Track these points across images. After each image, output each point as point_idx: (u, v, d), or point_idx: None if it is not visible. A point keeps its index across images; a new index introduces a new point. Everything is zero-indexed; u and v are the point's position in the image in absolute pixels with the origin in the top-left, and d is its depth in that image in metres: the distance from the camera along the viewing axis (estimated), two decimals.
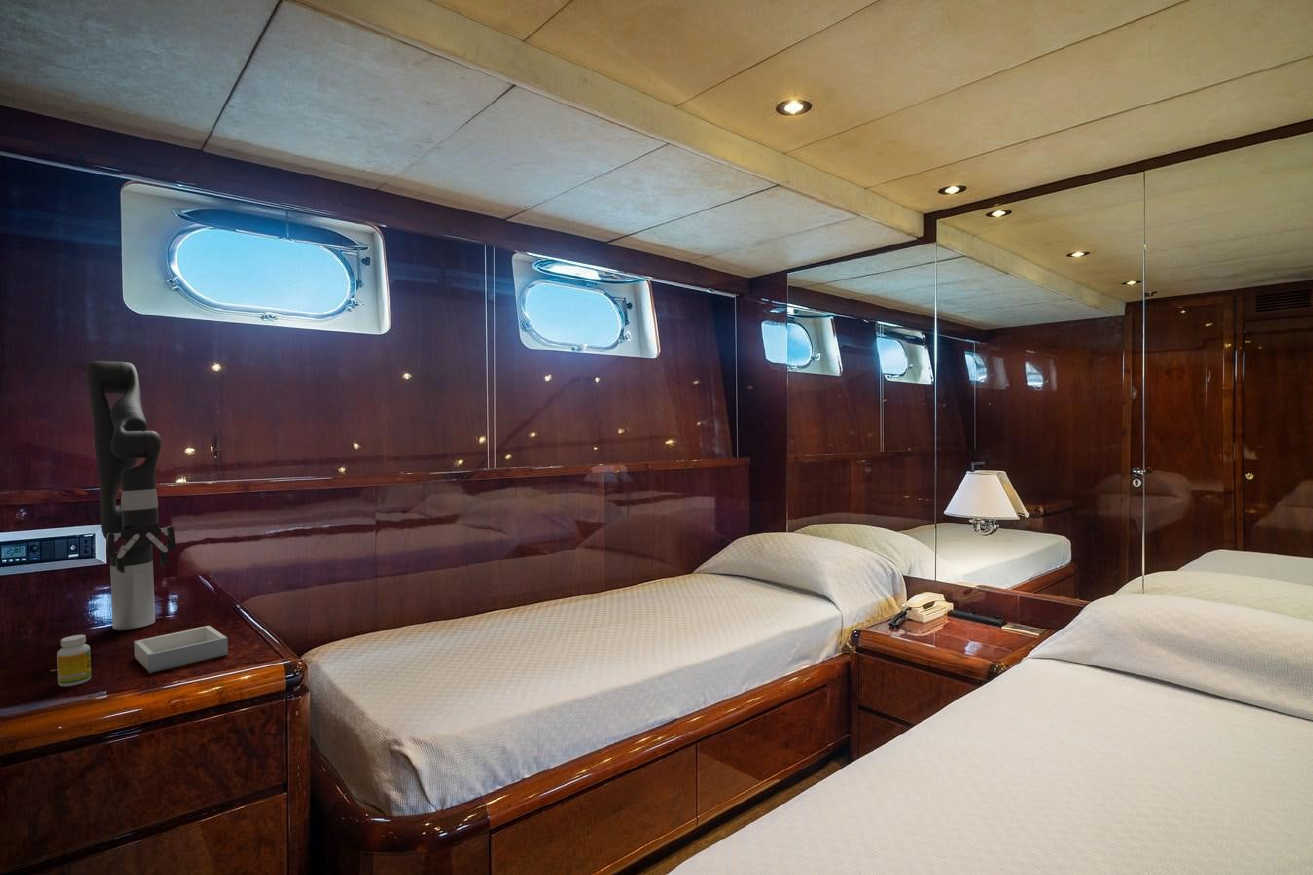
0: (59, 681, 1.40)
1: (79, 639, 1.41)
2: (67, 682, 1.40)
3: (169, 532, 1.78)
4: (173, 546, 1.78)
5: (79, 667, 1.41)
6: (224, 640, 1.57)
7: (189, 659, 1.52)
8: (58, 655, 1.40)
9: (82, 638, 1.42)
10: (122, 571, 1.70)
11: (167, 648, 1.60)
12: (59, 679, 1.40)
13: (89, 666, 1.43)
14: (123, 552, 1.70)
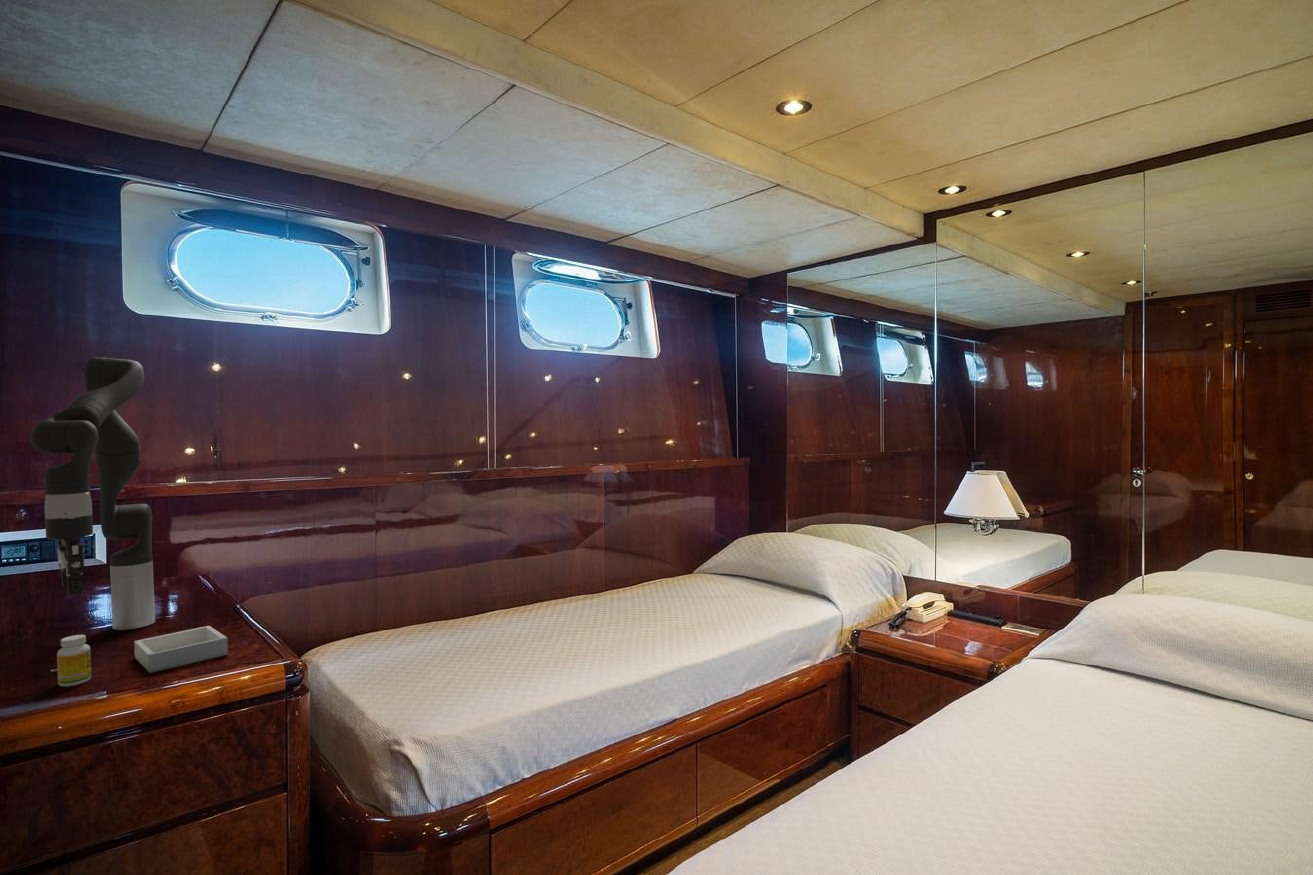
0: (59, 681, 1.40)
1: (79, 639, 1.41)
2: (67, 682, 1.40)
3: None
4: None
5: (79, 667, 1.41)
6: (224, 640, 1.57)
7: (189, 659, 1.52)
8: (58, 655, 1.40)
9: (82, 638, 1.42)
10: None
11: (167, 648, 1.60)
12: (59, 679, 1.40)
13: (89, 666, 1.43)
14: None
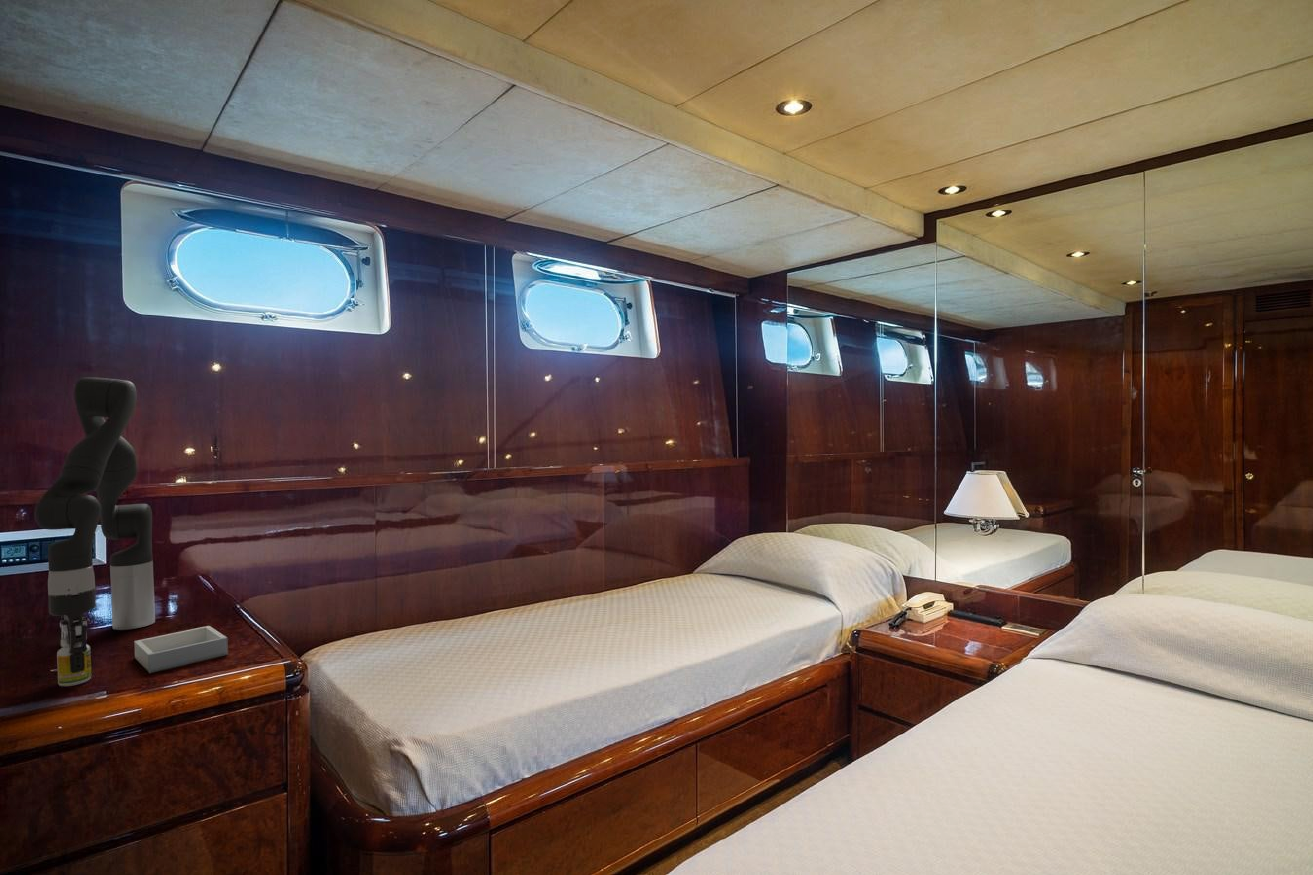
0: (59, 681, 1.40)
1: None
2: (67, 682, 1.40)
3: None
4: None
5: None
6: (224, 640, 1.57)
7: (189, 659, 1.52)
8: (58, 655, 1.40)
9: None
10: None
11: (167, 648, 1.60)
12: (59, 679, 1.40)
13: (89, 666, 1.43)
14: None
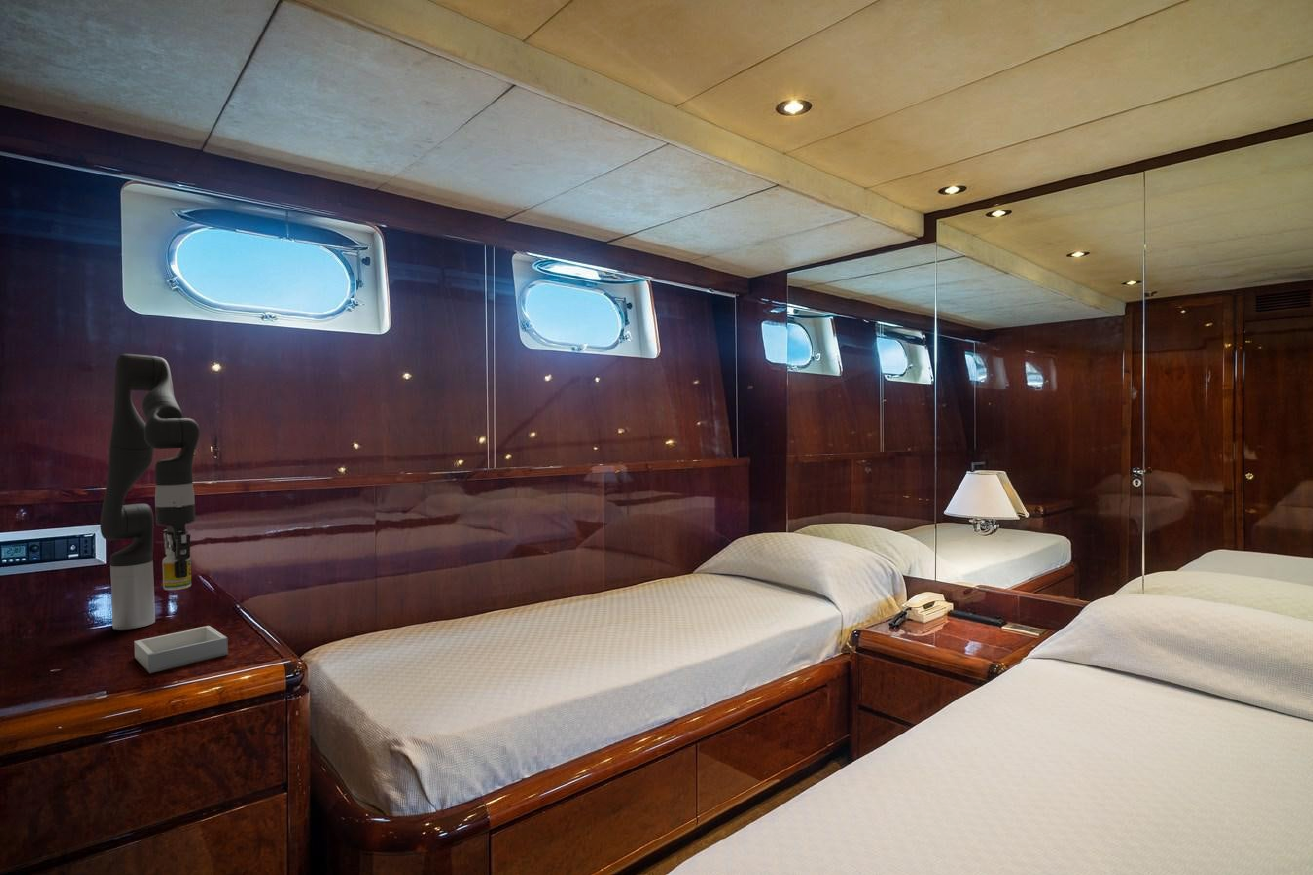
0: (165, 586, 1.54)
1: None
2: (172, 586, 1.54)
3: None
4: None
5: None
6: (224, 640, 1.57)
7: (189, 659, 1.52)
8: (164, 562, 1.54)
9: None
10: None
11: (167, 648, 1.60)
12: (165, 584, 1.54)
13: (190, 574, 1.57)
14: None
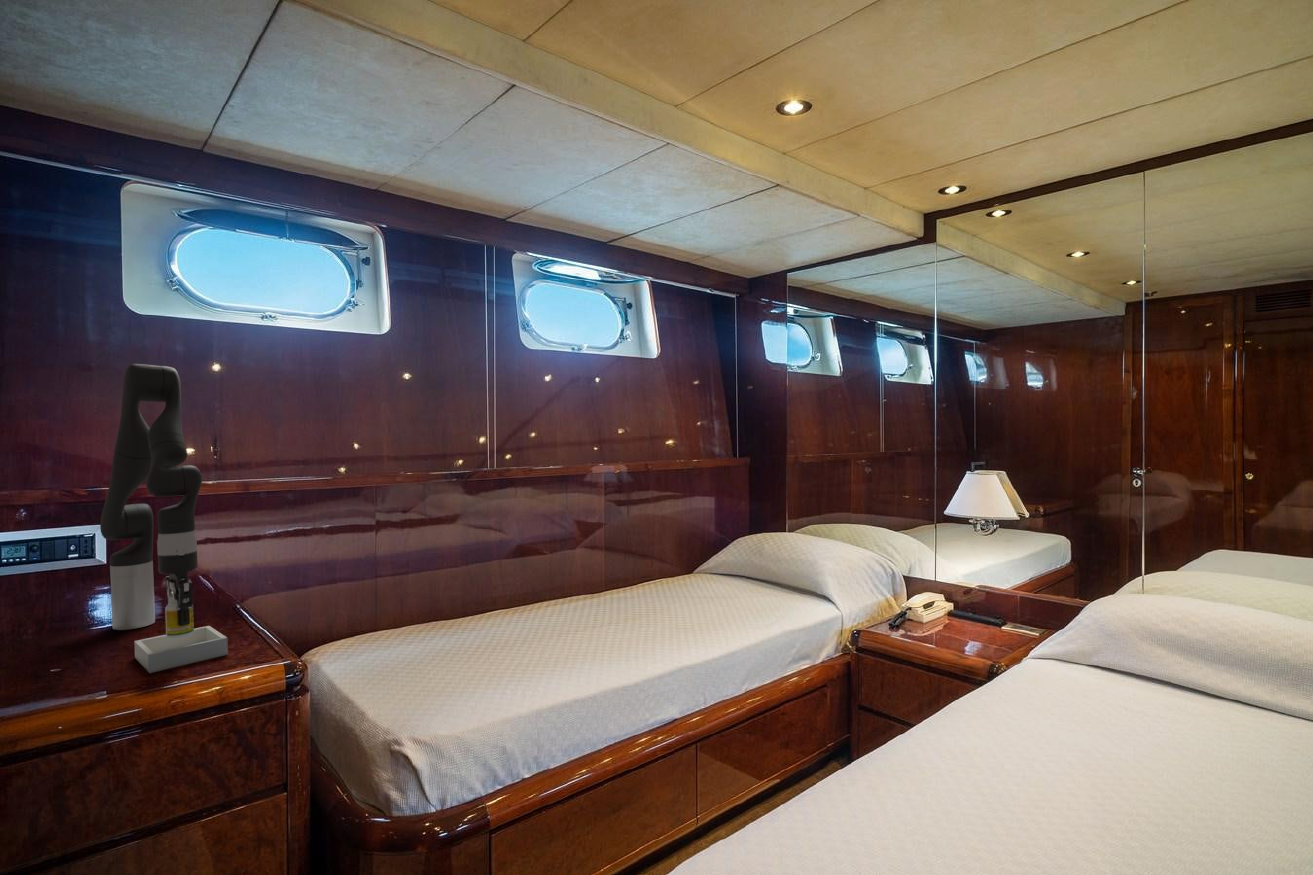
0: (167, 633, 1.55)
1: None
2: (175, 634, 1.54)
3: None
4: None
5: None
6: (224, 640, 1.57)
7: (189, 659, 1.52)
8: (166, 610, 1.54)
9: None
10: None
11: (167, 648, 1.60)
12: (167, 632, 1.55)
13: (192, 621, 1.58)
14: None
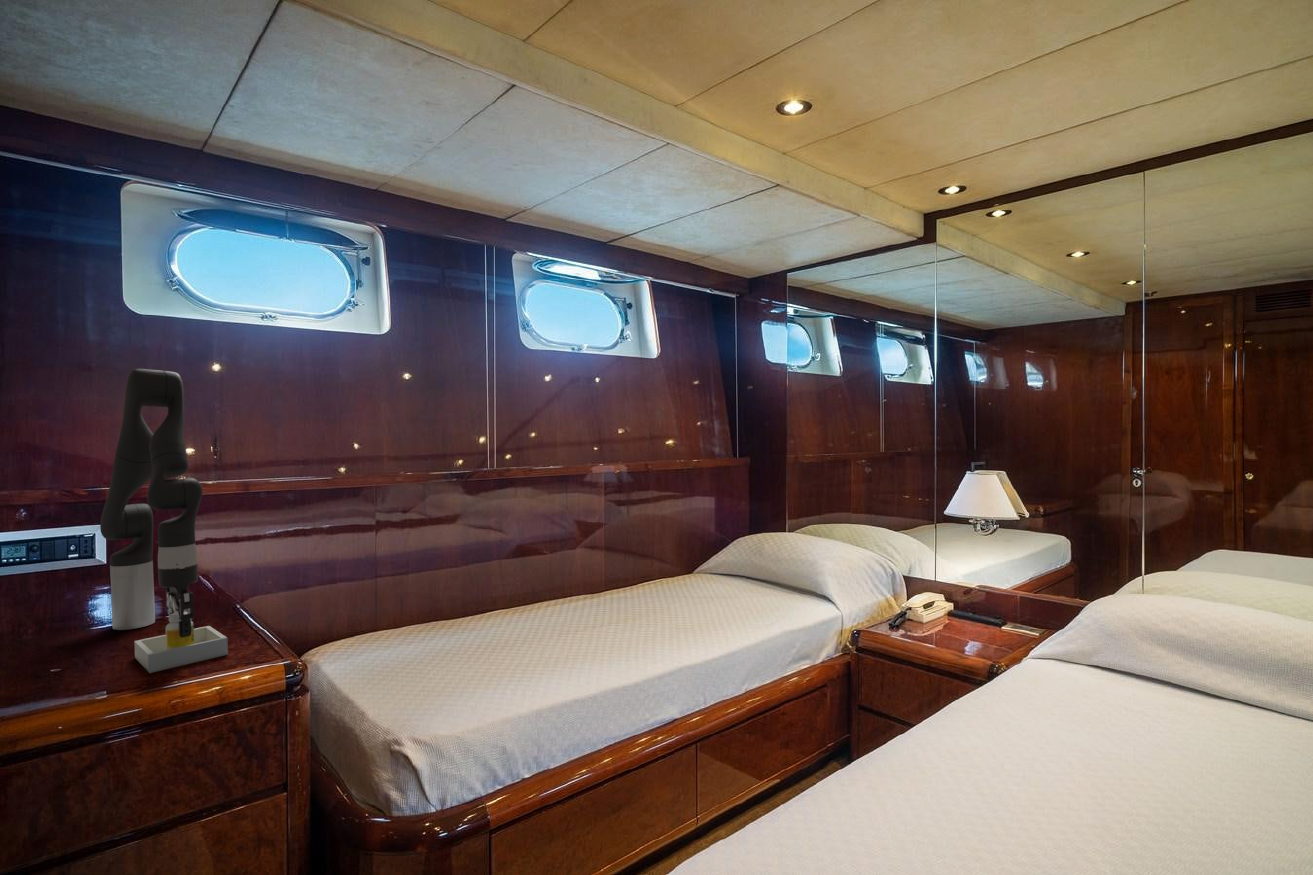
0: None
1: None
2: None
3: None
4: None
5: (185, 640, 1.56)
6: (224, 640, 1.57)
7: (189, 659, 1.52)
8: (167, 629, 1.55)
9: None
10: None
11: None
12: None
13: (193, 640, 1.58)
14: None
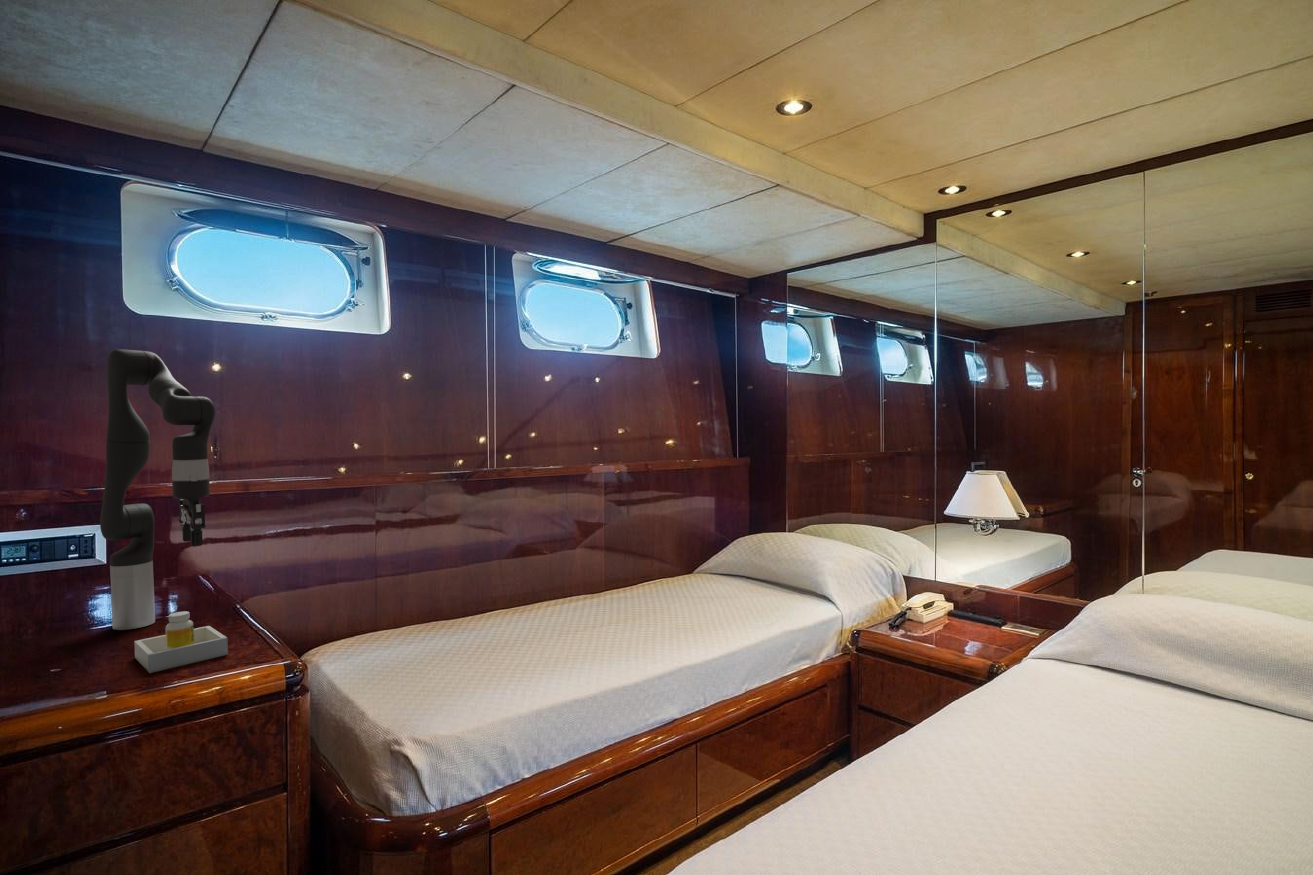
0: None
1: (185, 615, 1.56)
2: None
3: None
4: None
5: (185, 640, 1.56)
6: (224, 640, 1.57)
7: (189, 659, 1.52)
8: (167, 629, 1.55)
9: (187, 614, 1.57)
10: None
11: None
12: None
13: (193, 640, 1.58)
14: None
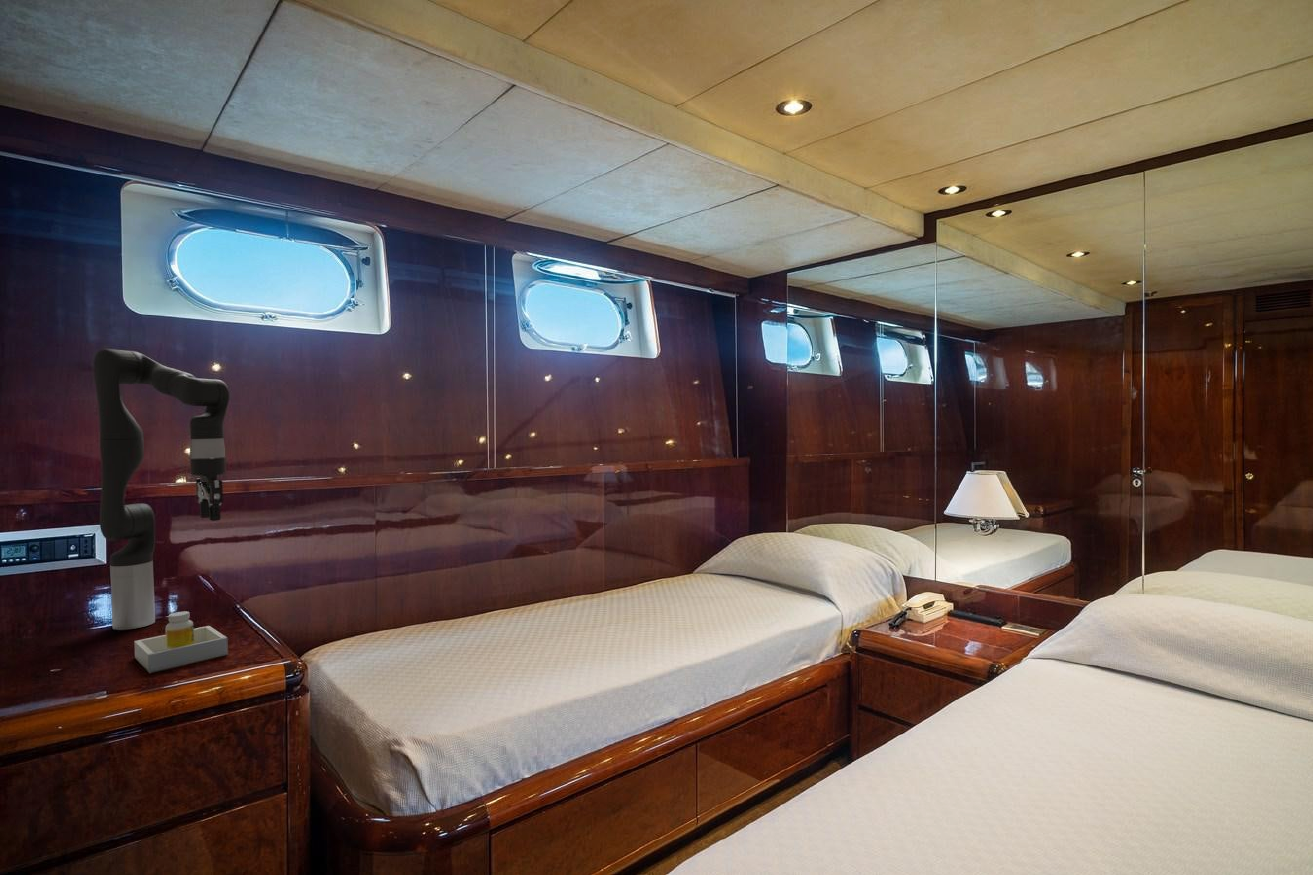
0: None
1: (185, 615, 1.56)
2: None
3: None
4: None
5: (185, 640, 1.56)
6: (224, 640, 1.57)
7: (189, 659, 1.52)
8: (167, 629, 1.55)
9: (187, 614, 1.57)
10: None
11: None
12: None
13: (193, 640, 1.58)
14: None
